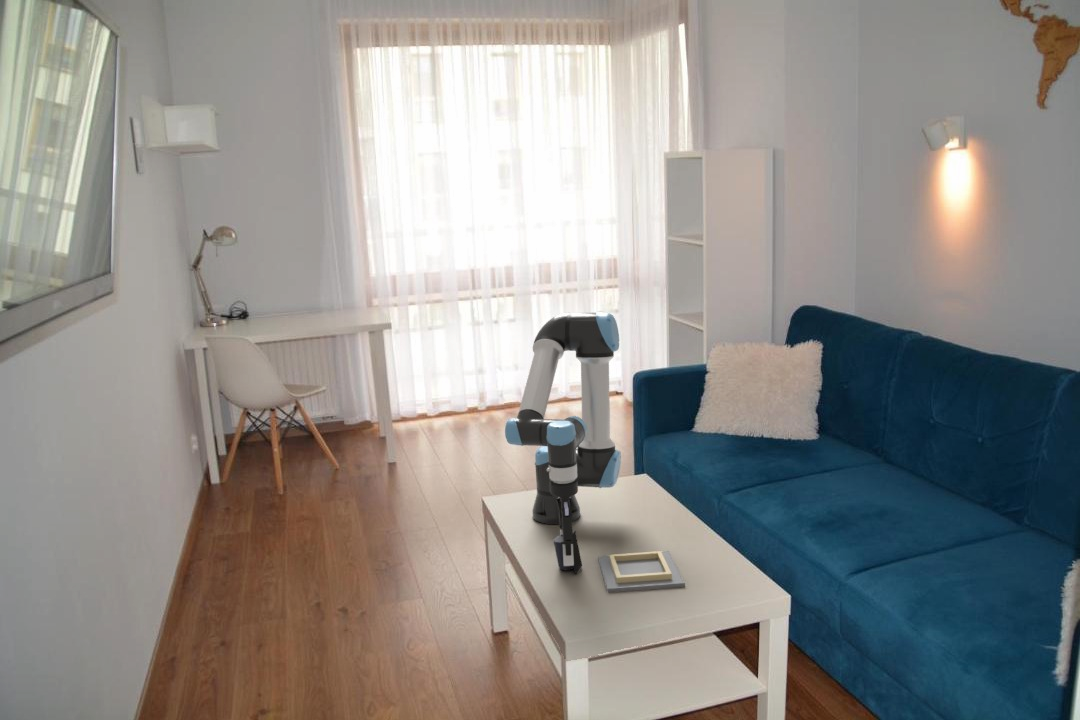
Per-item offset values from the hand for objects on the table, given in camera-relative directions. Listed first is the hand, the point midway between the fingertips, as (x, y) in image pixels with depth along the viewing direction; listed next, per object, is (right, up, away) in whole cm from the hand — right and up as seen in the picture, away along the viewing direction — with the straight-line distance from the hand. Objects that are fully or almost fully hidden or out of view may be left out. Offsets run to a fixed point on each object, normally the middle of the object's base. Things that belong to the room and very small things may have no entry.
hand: (567, 558), depth 235 cm
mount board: (+19, -3, -4) cm, 20 cm away
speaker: (0, -3, +1) cm, 3 cm away
